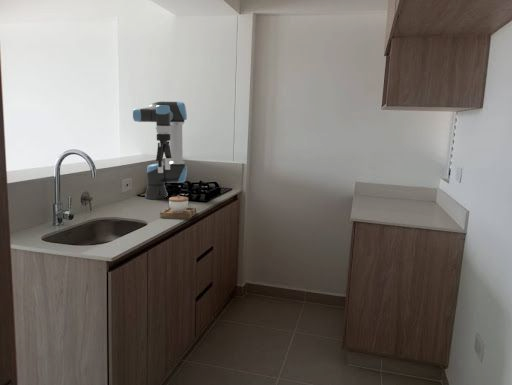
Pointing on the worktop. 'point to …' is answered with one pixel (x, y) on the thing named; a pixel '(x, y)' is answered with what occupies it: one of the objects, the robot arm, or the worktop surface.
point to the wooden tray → (184, 215)
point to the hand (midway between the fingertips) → (164, 171)
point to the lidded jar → (178, 204)
